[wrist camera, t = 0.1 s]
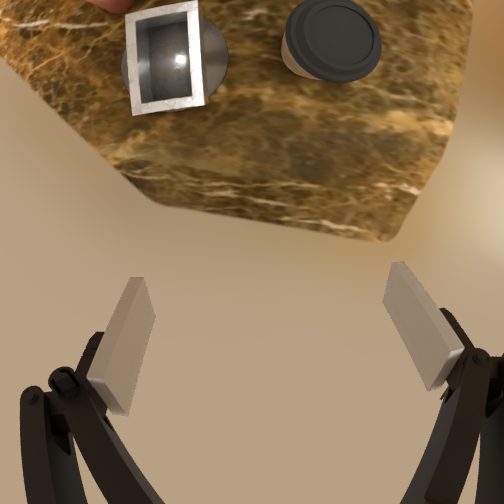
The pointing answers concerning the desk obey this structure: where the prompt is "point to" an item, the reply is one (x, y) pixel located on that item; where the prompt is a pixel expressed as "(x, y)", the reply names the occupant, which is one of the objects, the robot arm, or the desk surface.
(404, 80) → the desk surface
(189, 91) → the rosette bracket
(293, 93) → the desk surface
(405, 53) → the desk surface
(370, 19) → the coffee cup
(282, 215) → the desk surface
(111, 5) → the pin
